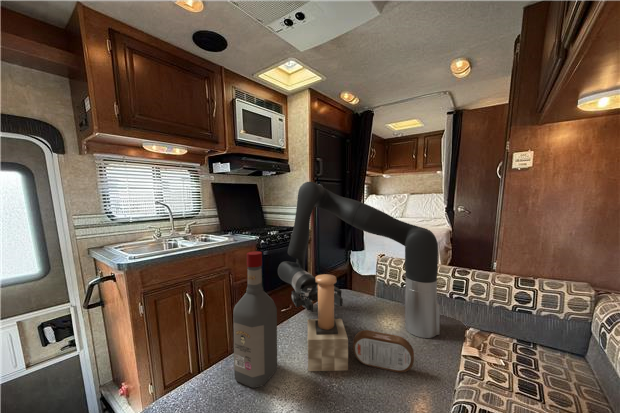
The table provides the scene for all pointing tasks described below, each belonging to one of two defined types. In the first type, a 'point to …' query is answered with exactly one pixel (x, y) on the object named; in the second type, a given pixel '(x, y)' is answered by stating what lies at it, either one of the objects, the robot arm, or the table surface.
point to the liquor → (255, 330)
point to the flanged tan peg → (325, 301)
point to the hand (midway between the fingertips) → (327, 305)
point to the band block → (327, 347)
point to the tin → (383, 351)
